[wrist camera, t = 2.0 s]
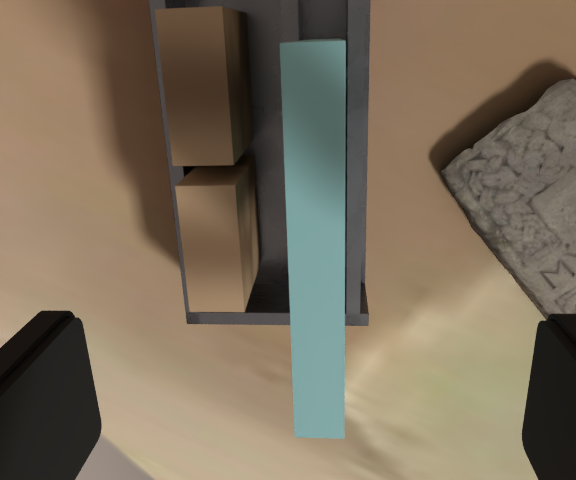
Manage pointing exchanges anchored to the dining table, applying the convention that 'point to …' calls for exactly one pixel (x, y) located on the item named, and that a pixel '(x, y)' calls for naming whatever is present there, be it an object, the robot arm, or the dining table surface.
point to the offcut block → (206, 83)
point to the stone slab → (527, 196)
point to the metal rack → (270, 147)
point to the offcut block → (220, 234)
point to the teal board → (316, 229)
